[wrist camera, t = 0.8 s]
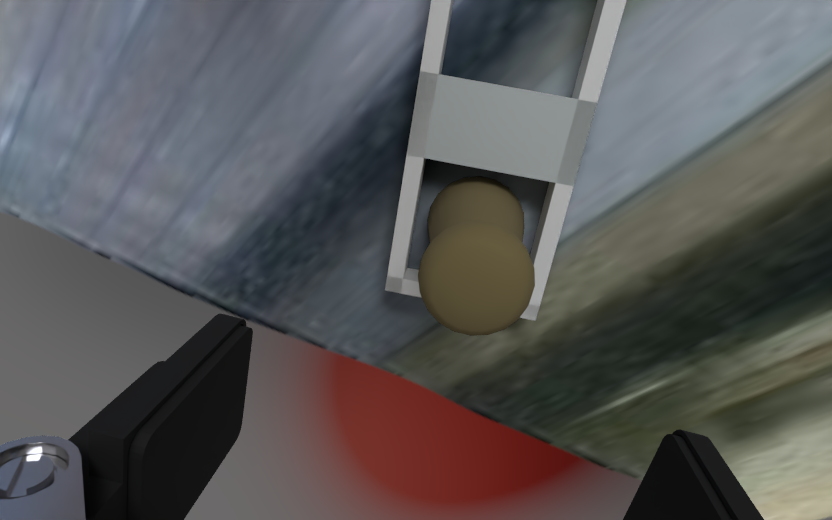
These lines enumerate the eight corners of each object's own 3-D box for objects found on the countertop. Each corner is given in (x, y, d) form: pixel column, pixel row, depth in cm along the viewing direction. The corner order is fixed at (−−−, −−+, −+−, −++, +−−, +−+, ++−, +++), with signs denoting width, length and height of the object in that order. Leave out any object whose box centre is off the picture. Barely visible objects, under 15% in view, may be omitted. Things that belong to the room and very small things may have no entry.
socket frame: (637, -74, 25) (650, -86, 23) (531, 307, 32) (535, 320, 30) (452, -103, 25) (450, -118, 23) (390, 278, 33) (385, 290, 31)
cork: (479, 287, 32) (482, 381, 22) (408, 229, 32) (375, 298, 21) (545, 219, 30) (581, 287, 20) (470, 155, 30) (468, 192, 19)
